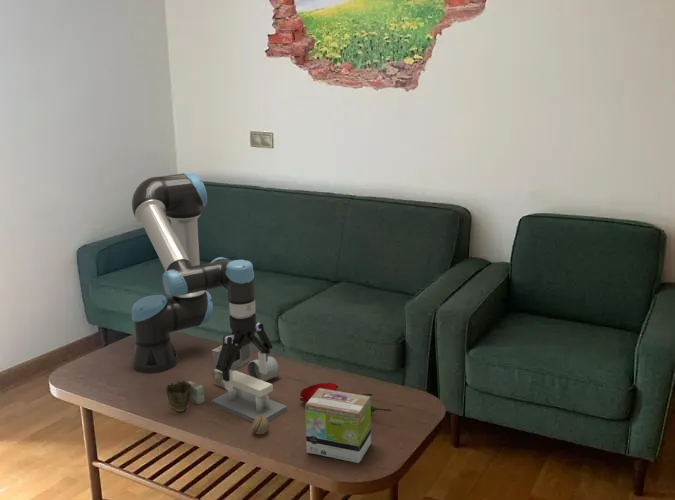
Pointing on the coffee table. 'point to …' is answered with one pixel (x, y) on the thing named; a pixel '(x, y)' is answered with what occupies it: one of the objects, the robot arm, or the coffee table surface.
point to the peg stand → (249, 405)
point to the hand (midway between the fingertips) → (246, 381)
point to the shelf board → (251, 384)
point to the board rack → (198, 391)
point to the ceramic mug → (271, 369)
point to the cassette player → (240, 359)
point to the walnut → (260, 425)
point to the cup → (179, 396)
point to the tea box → (338, 424)
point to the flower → (330, 386)
